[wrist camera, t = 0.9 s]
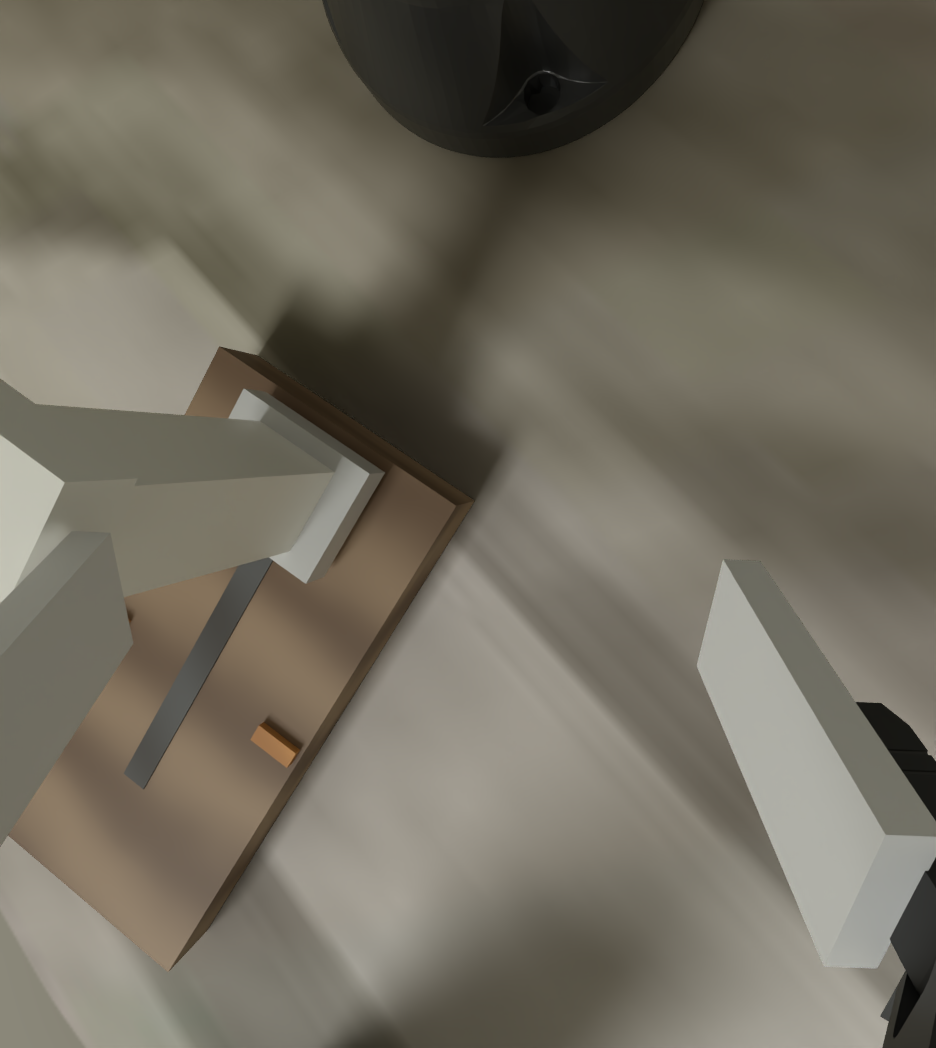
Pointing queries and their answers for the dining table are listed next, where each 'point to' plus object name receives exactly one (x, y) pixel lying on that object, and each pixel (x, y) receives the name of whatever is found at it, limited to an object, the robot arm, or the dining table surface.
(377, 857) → the dining table surface
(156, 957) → the fader console
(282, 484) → the fader knob
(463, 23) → the robot arm
